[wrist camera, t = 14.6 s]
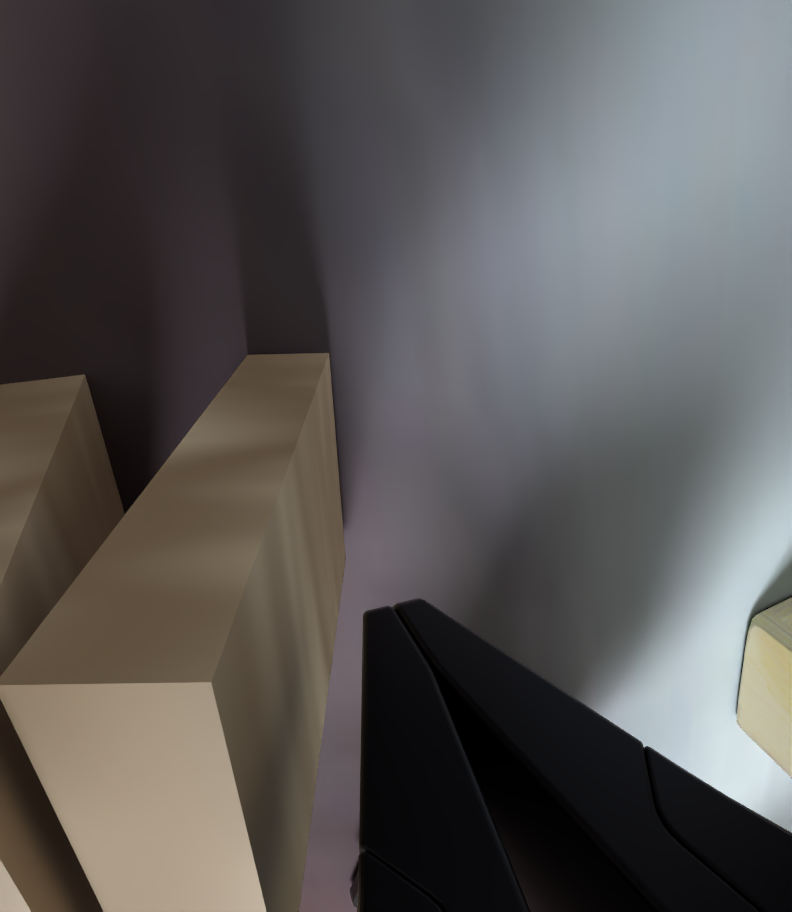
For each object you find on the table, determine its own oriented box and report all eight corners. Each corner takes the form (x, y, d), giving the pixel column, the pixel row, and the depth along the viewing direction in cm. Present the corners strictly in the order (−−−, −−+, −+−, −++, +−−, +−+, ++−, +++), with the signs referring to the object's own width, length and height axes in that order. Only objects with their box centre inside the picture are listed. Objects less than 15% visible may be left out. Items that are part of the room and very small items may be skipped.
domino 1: (85, 374, 11) (-64, 749, 4) (146, 589, 13) (120, 1062, 6) (-17, 386, 10) (-392, 838, 3) (66, 607, 12) (-58, 1137, 6)
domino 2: (329, 353, 11) (211, 681, 4) (345, 559, 14) (287, 998, 6) (247, 355, 11) (-7, 685, 4) (278, 560, 14) (146, 998, 7)
